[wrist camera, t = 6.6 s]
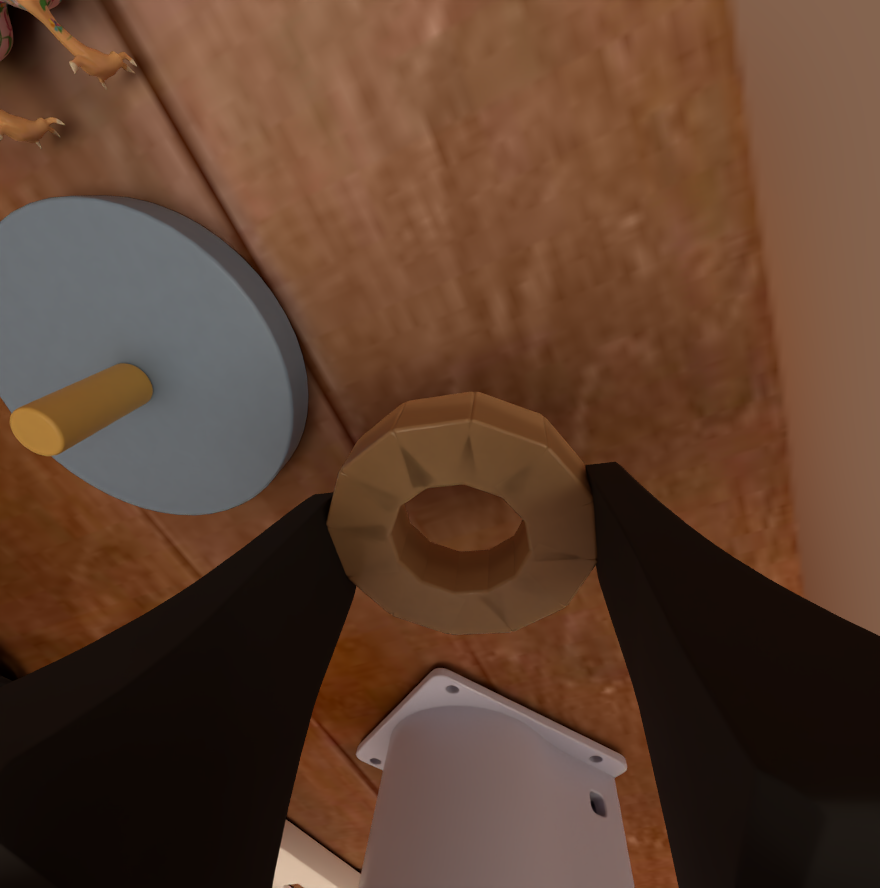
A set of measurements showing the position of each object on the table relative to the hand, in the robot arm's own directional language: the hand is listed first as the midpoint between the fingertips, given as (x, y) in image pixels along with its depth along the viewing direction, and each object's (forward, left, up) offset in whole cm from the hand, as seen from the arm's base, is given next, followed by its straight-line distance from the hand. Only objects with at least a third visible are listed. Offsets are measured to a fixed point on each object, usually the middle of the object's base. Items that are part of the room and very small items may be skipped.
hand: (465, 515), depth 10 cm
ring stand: (+9, +3, -3) cm, 10 cm away
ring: (0, 0, 0) cm, 0 cm away
